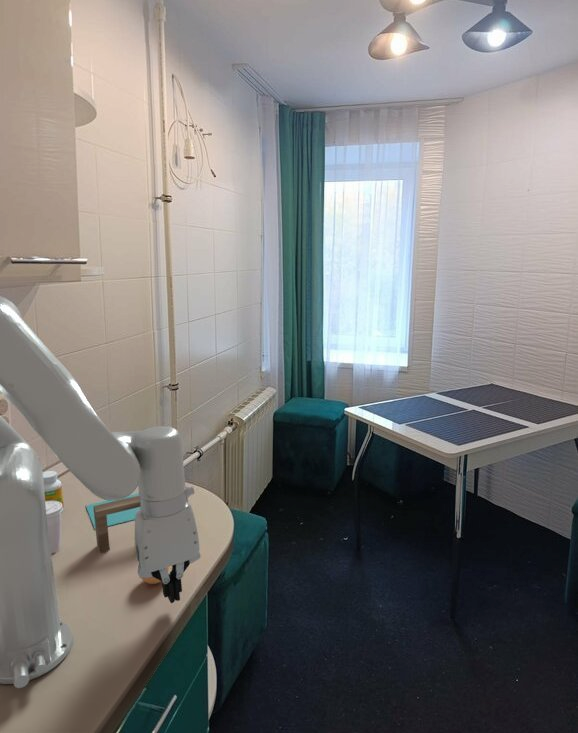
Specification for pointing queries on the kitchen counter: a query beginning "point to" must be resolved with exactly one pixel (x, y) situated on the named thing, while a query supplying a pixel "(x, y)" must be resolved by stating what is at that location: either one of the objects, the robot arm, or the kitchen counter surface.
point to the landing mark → (115, 517)
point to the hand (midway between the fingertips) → (172, 597)
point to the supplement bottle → (52, 487)
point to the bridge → (101, 518)
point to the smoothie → (54, 524)
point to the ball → (152, 579)
